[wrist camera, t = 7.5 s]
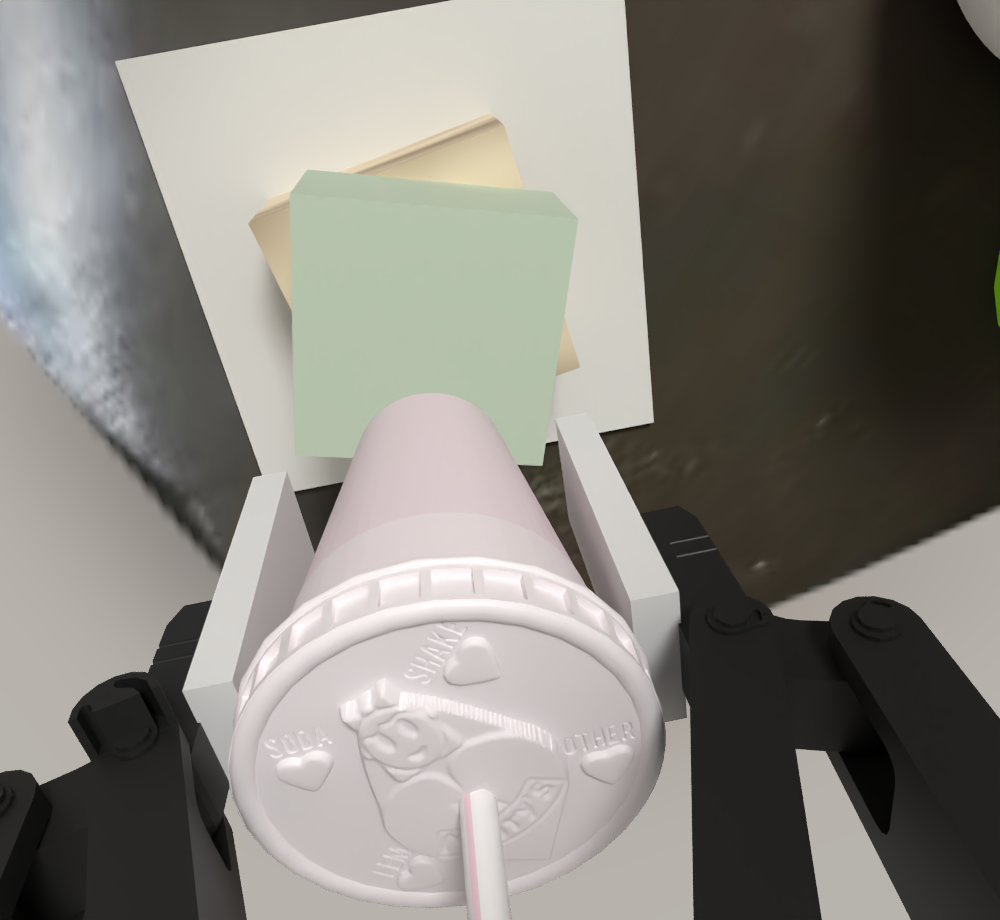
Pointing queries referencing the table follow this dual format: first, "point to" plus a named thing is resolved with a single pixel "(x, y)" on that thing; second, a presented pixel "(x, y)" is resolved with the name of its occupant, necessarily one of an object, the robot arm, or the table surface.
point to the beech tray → (441, 157)
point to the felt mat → (381, 129)
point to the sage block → (424, 303)
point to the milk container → (984, 21)
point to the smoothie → (442, 686)
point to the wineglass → (997, 290)
